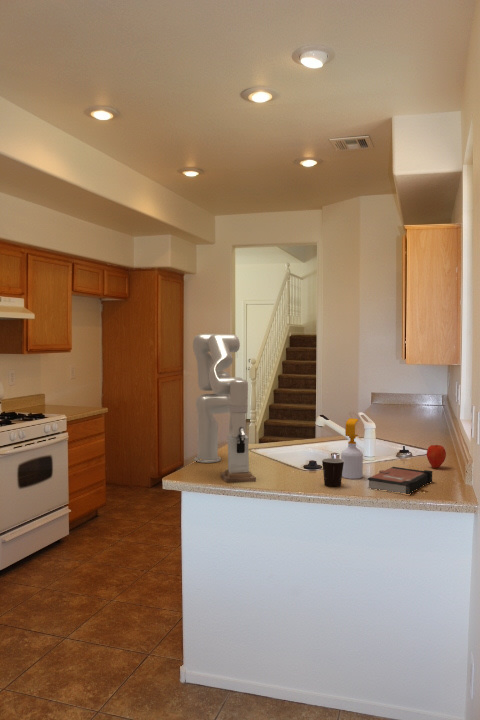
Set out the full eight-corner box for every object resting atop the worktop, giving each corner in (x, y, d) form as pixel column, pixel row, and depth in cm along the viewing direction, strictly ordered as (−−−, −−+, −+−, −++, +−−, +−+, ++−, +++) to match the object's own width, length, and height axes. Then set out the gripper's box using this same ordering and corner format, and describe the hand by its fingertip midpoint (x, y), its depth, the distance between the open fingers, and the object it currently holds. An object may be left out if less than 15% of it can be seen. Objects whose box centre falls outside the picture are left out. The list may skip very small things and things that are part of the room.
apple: (438, 471, 264) (439, 446, 264) (422, 467, 271) (422, 444, 270) (449, 468, 270) (449, 444, 269) (432, 465, 276) (433, 442, 276)
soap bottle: (365, 475, 254) (366, 418, 253) (358, 480, 246) (359, 421, 245) (345, 473, 258) (346, 417, 257) (337, 477, 250) (338, 419, 249)
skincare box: (246, 469, 250) (247, 434, 249) (249, 473, 244) (249, 437, 243) (227, 470, 249) (227, 434, 248) (228, 473, 243) (229, 437, 242)
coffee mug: (326, 481, 243) (327, 457, 242) (346, 484, 238) (347, 459, 238) (315, 487, 233) (315, 462, 232) (335, 490, 228) (336, 465, 228)
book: (391, 476, 254) (391, 465, 254) (432, 483, 244) (432, 471, 244) (365, 489, 233) (366, 476, 233) (409, 496, 223) (409, 483, 223)
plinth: (220, 476, 251) (220, 469, 251) (247, 474, 254) (248, 467, 254) (227, 482, 239) (227, 475, 239) (255, 481, 242) (255, 474, 242)
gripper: (224, 406, 253) (224, 446, 254) (234, 412, 236) (234, 455, 237) (241, 406, 255) (241, 445, 256) (252, 412, 238) (252, 454, 239)
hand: (237, 450), depth 247 cm, fingers open, 9 cm apart
